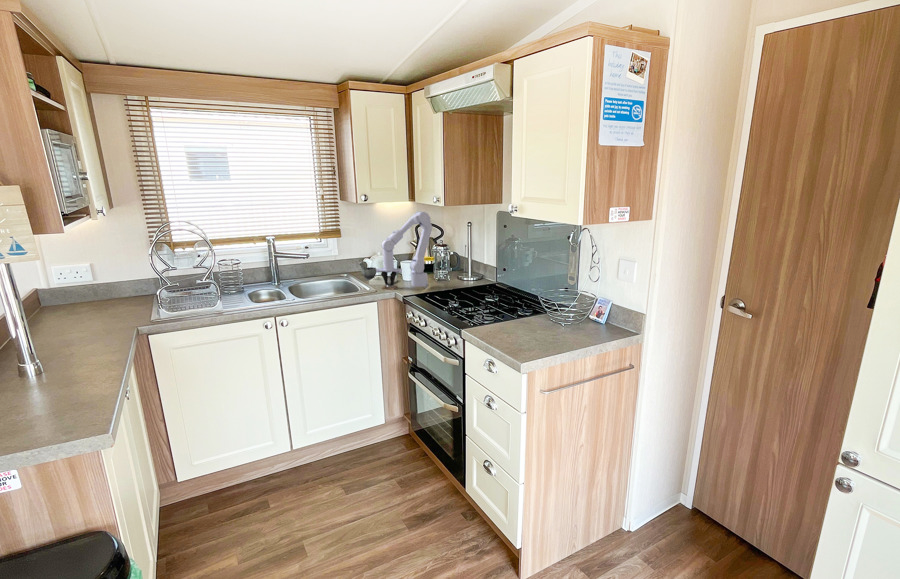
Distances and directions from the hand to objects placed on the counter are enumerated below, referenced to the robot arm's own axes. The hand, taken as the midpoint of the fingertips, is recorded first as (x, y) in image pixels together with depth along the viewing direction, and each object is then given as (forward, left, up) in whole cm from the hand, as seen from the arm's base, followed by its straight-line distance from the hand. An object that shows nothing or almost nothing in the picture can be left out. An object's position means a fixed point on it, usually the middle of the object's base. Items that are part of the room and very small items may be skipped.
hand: (389, 284), depth 252 cm
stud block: (0, 0, -3) cm, 3 cm away
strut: (0, 0, -2) cm, 2 cm away
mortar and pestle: (+24, -27, -3) cm, 36 cm away
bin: (+9, -14, -3) cm, 17 cm away
